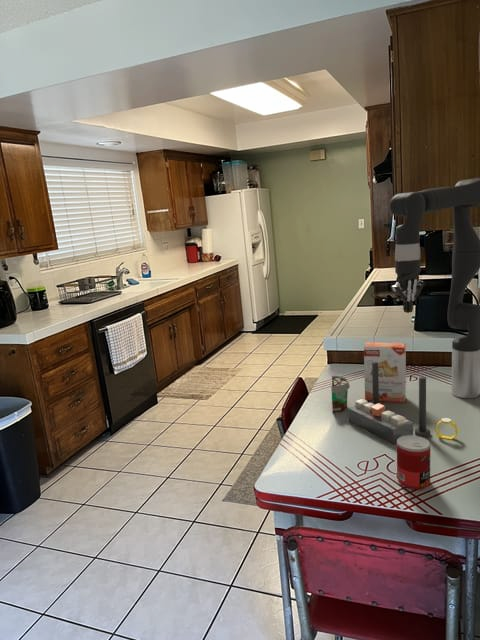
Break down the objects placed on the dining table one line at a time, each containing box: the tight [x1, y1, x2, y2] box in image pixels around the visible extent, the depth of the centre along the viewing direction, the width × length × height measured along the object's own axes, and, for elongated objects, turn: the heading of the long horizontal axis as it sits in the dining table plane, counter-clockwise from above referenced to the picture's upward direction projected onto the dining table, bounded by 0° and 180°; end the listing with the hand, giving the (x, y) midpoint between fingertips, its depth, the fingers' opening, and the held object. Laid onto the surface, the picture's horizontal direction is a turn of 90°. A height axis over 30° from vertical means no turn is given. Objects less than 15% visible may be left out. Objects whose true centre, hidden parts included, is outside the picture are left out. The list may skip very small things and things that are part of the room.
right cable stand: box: [414, 376, 431, 438], centre depth 145 cm, size 4×4×18 cm
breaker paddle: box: [371, 402, 386, 417], centre depth 150 cm, size 3×3×2 cm
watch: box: [434, 417, 459, 440], centre depth 142 cm, size 6×3×6 cm, turn 59°
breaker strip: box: [347, 398, 414, 446], centre depth 151 cm, size 8×20×7 cm, turn 28°
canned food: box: [396, 435, 431, 491], centre depth 121 cm, size 8×8×11 cm
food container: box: [330, 375, 351, 414], centre depth 170 cm, size 12×6×10 cm, turn 168°
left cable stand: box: [372, 362, 380, 405], centre depth 162 cm, size 4×4×18 cm
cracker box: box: [363, 341, 407, 404], centre depth 173 cm, size 14×6×21 cm, turn 68°
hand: (408, 312), depth 154 cm, fingers closed
